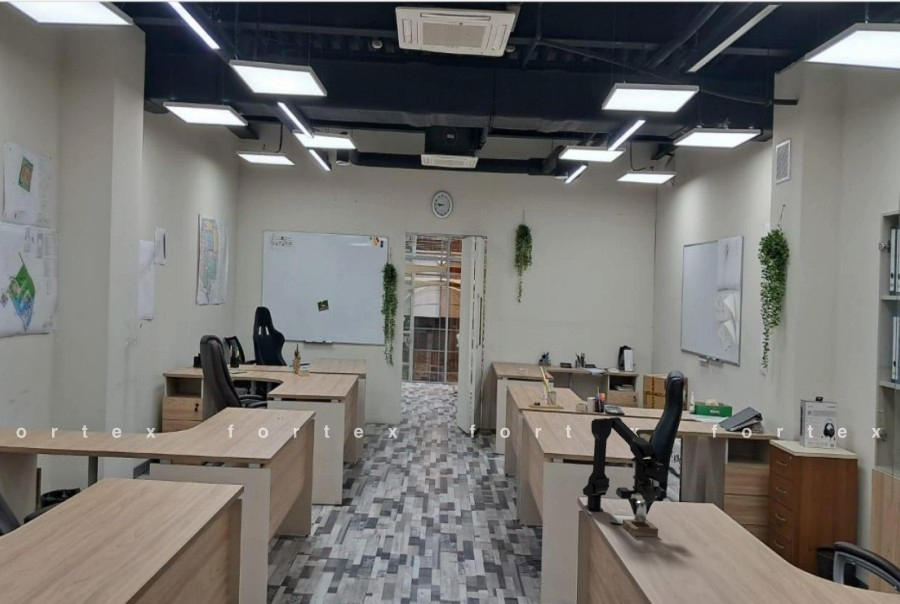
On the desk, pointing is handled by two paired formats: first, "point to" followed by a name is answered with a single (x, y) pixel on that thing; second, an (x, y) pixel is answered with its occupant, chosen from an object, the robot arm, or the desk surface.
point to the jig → (640, 528)
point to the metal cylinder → (641, 511)
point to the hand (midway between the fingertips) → (640, 514)
